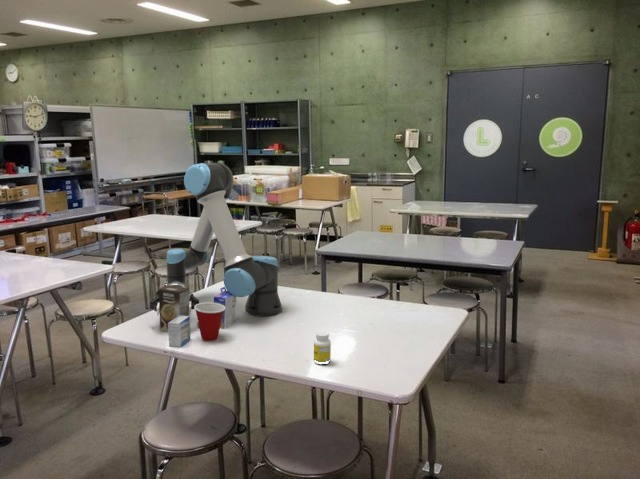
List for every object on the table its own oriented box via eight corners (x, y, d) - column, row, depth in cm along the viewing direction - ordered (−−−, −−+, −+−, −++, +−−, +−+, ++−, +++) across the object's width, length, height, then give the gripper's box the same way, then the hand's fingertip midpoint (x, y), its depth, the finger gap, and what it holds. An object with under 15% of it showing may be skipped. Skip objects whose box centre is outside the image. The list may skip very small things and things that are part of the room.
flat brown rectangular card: (210, 322, 205) (210, 321, 205) (210, 328, 198) (210, 327, 198) (197, 322, 204) (197, 321, 204) (197, 329, 197) (197, 328, 197)
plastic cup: (225, 343, 184) (225, 310, 182) (193, 344, 182) (193, 311, 180) (225, 332, 194) (225, 301, 192) (195, 333, 193) (195, 301, 190)
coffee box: (159, 330, 194) (157, 288, 191) (170, 325, 200) (169, 284, 197) (179, 334, 191) (178, 291, 188) (190, 329, 197) (189, 287, 194)
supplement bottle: (313, 358, 172) (313, 330, 171) (329, 358, 173) (330, 330, 171) (314, 365, 167) (314, 336, 165) (331, 365, 168) (331, 336, 166)
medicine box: (180, 347, 179) (179, 323, 178) (168, 346, 180) (167, 322, 179) (190, 339, 187) (190, 316, 185) (179, 338, 188) (178, 314, 186)
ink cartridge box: (222, 319, 209) (225, 284, 206) (235, 322, 207) (238, 286, 205) (210, 326, 199) (213, 289, 197) (224, 329, 198) (227, 292, 196)
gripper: (205, 301, 214) (206, 319, 193) (146, 303, 209) (140, 322, 188) (205, 283, 213) (206, 299, 192) (145, 285, 208) (140, 302, 187)
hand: (174, 311), depth 190 cm, fingers closed on coffee box, 11 cm apart
